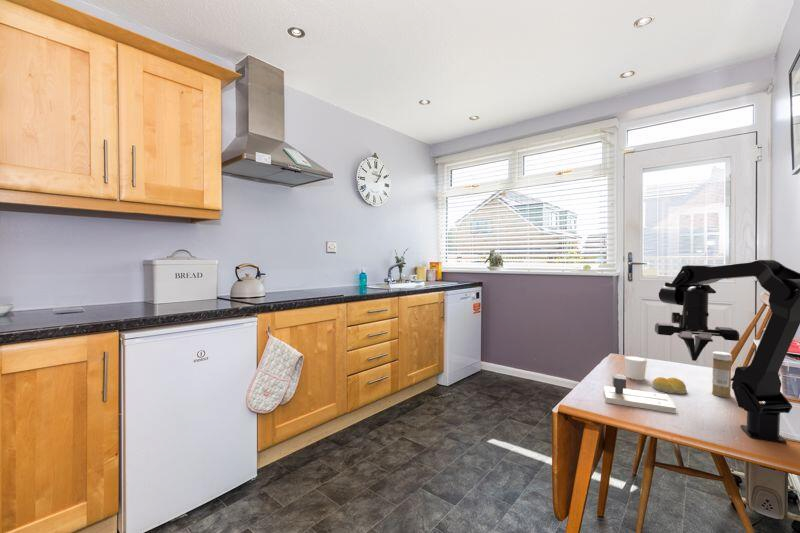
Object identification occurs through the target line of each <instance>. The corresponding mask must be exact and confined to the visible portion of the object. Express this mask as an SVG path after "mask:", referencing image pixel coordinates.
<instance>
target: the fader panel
mask: <svg viewBox="0 0 800 533" xmlns="http://www.w3.org/2000/svg"><path fill="white" fill-rule="evenodd" d="M603 393H604V398H605V403H607V404H615V405H620V406H621V405H622V406H627V407H633V408H639V409H640V408H641V409H645V410H646V409H647V410H653V411H659V412H664V413H672V414H677V407H676V406H675V404H674V402H673V401H672V399H671V398H670V396H669V395H668V393H667V394H666V393H660V392H651V391H644V390H643V391H642V390H638V389H637V390H636V389H629V388H626V389H624V388H623V394H621V393H615V387H613V386H609V385H604V386H603Z"/></svg>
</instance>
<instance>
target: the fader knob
mask: <svg viewBox="0 0 800 533" xmlns="http://www.w3.org/2000/svg"><path fill="white" fill-rule="evenodd" d="M611 381H612V387H615V393H621V394H623V389H627V377H626V374H625V375H624V374H617V373H612V380H611Z"/></svg>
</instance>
